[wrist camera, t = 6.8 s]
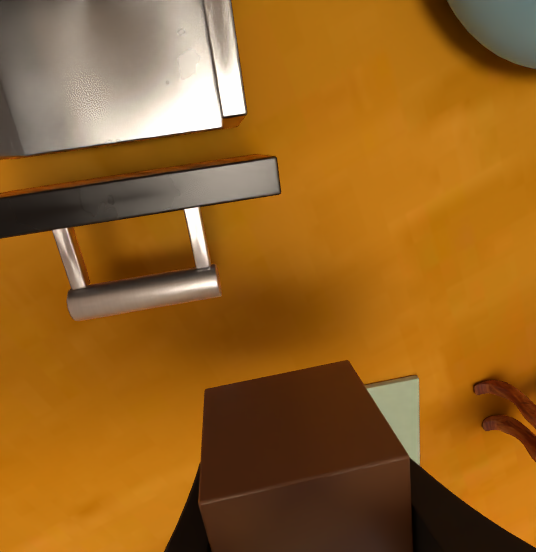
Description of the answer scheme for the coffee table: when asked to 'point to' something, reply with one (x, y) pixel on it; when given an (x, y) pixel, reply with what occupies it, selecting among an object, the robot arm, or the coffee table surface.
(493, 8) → the sugar bowl
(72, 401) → the coffee table surface
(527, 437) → the cat figurine
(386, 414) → the mat
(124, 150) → the coffee table surface
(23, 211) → the drawer
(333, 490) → the brown block
